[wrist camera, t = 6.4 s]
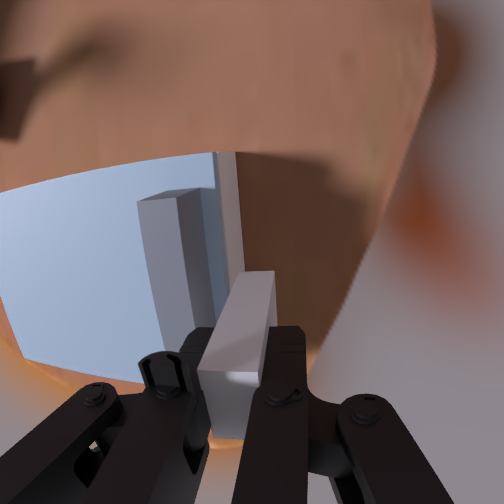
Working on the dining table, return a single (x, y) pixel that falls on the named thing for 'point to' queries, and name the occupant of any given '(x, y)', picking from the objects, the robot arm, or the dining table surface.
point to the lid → (114, 263)
